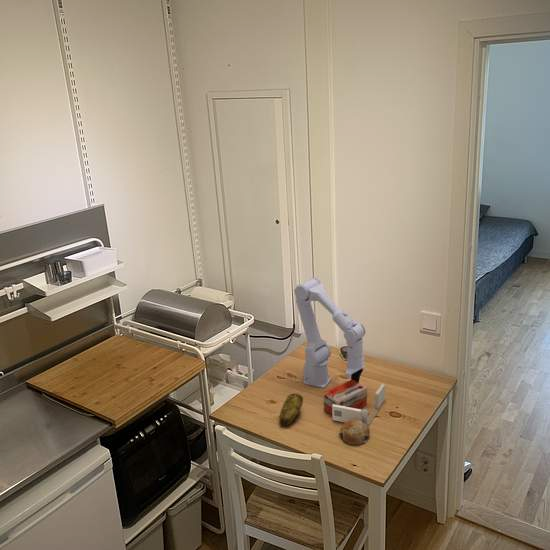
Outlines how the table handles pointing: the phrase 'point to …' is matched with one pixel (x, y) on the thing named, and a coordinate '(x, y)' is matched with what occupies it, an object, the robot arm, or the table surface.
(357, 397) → the medicine box
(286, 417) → the olive-green oval lump
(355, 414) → the door
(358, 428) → the bread roll
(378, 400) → the white upright panel
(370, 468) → the table surface
